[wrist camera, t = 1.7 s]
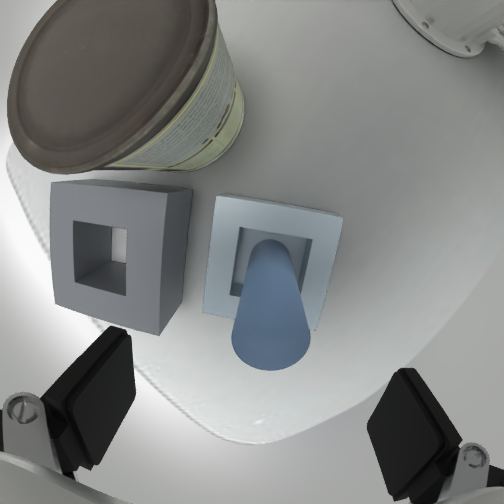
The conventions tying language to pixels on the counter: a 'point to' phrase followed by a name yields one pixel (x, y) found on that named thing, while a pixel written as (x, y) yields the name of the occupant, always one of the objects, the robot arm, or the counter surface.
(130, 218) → the port
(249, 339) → the plug
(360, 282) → the counter surface
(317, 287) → the square frame plate
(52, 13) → the coffee can
